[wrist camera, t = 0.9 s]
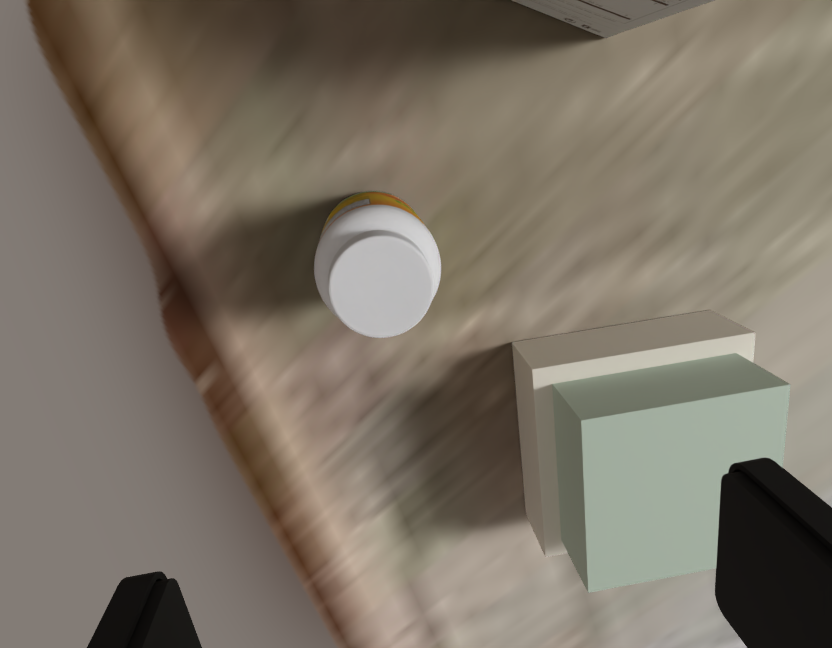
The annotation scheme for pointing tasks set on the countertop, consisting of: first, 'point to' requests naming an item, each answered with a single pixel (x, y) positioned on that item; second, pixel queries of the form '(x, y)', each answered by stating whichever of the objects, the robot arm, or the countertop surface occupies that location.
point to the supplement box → (610, 12)
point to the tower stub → (640, 440)
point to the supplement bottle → (376, 264)
